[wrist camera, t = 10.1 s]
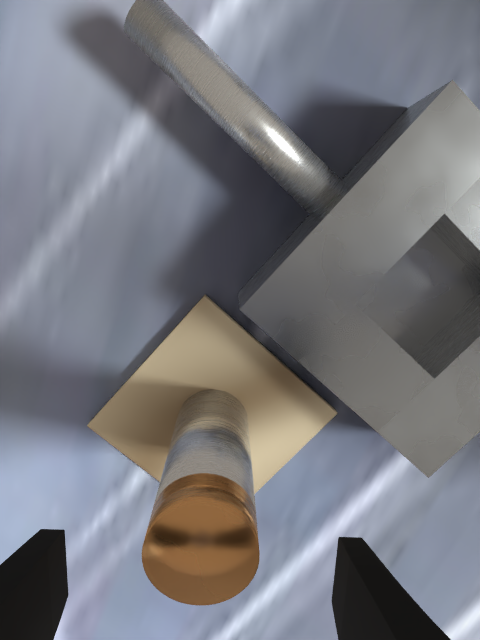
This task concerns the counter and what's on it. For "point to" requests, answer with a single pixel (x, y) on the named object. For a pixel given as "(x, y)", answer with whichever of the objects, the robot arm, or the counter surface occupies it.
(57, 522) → the counter surface
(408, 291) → the block
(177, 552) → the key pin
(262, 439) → the cork mat
